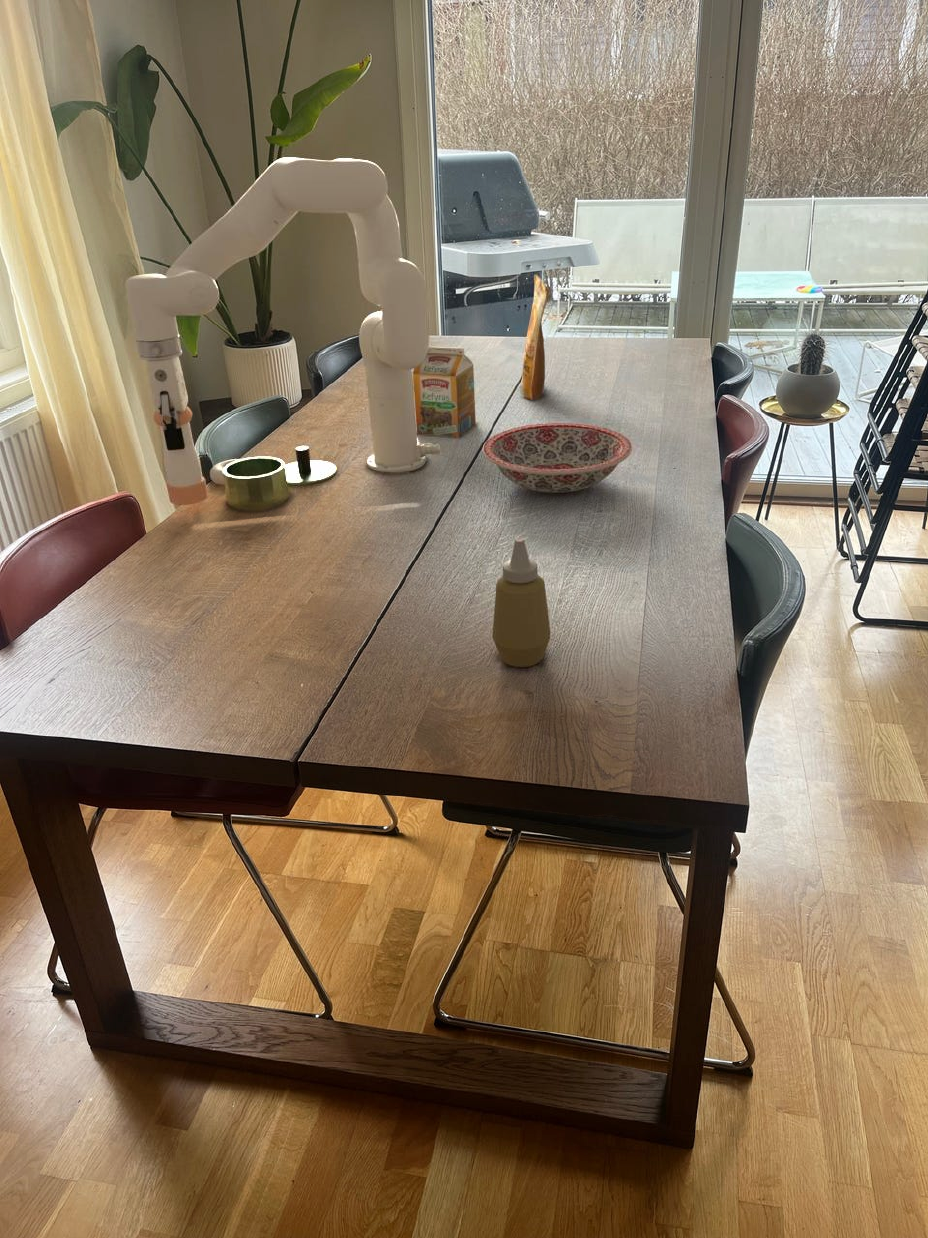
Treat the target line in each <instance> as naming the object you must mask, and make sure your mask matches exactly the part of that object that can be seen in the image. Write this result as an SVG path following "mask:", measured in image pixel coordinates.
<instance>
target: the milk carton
mask: <svg viewBox="0 0 928 1238" xmlns="http://www.w3.org/2000/svg"><path fill="white" fill-rule="evenodd" d="M474 369H475V368H474V363H473V361H472V360H471V359H470V358H469V357H468V356H467V355H466V354H465V349H464V348H463V347H450V346H449V347H448V346H430V345H429V348H428V352H427V355H426V357H425V359H424V360H423V362H422V363H421V364H420V365H419V366H417V367H416V368H414V369H413V372H412V377H413V386H414V404H415V418H416V432H417V435H425V436H426V435H427V436H436V437H437V436H438V437H450V438H460V437H461V436H463V435H464V434H465V433H466V432H468V431H469V430H470V429H472V427H474V426H475V425H476V424H477V422H476V397H475V395H476V394H475V372H474Z"/></svg>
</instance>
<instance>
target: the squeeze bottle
mask: <svg viewBox="0 0 928 1238" xmlns="http://www.w3.org/2000/svg"><path fill="white" fill-rule="evenodd" d="M512 548H513V549H512V553H511V557H510V559H508V560H506V561H505V562H503V564H502V575H501V576H500V577H499V578H498V579H497V580H496V586H495V596H494V610H493V612H494V613H493V622H492V636H491V638H492V640H493V642H494V645H495V647H496V649H497V652H498V654H499V657H500V659H501V660H502V662H503V663H504V664H506V665H508V666H511V667H515V668H528V667H532V666H535V665H537V664H539V663H540V662H541V661H542V660H543V658H544V655H545V653H546V651H547V648H548V645H549V642H550V640H551V626H550V617H549V609H548V599H547V592H546V591H547V590H546V584H545V583H546V582H545V579H544V578H543V577H542V576H541V575H539V573H538V571H539V570H538V563H537V562H536V561H535V560H533V559H531V558H530V557H529V554H528V549H527V546H526V542H525V539H524V538H523V537H517V538H515V539H514V544H513V547H512Z"/></svg>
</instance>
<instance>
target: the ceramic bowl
mask: <svg viewBox="0 0 928 1238" xmlns="http://www.w3.org/2000/svg"><path fill="white" fill-rule="evenodd" d="M632 451H633V444H632V442H631V440H630V439H629V438H628V437H626V436H625V435H623V434H621V433H620V432H618V431H615V430H612V429H610V428H605V427H602V426H596V425H591V424H585V423H572V422H571V423H570V422H553V423H552V422H550V423H538V424H537V423H536V424H530V425H529V424H528V425H522V426H518V427H513V428H510V429H507V430H504V431H501V432H499V433H497V434H495V435H492V436H491V437H490V438H488V439H487V440H486V441H485V442H484V444H483V446H482V454H483V457H484V458H485V459H486V460H487V461H488V462H490V463H491V464H494V465H495V466H496V468H497V469H498V470H499V472H500V473H501V474H502V475H503V476H504V477H506V479H508V480H509V481H510V482H512V483H514V484H515V485H518V486H520V487H521V488H525V489H527V490H531V491H534V492H535V491H536V492H541V493H557V494H560V493H571V492H578V491H581V490H584V489H588V488H591V487H593V486H595V485H597V484H599V483H600V482H602V481H603V480H605V479H606V478H607V477H609V476H610V475H611V474H612V473H613V471H615V469H616V468H617V466H618V465H619V464H620V463H622V462H624V461H625V460H627V459H628V458H629V457H630V456H631V454H632Z"/></svg>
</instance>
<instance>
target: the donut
mask: <svg viewBox="0 0 928 1238" xmlns="http://www.w3.org/2000/svg"><path fill="white" fill-rule="evenodd" d="M242 459H243V458H234V459H233V458H231V459H227V460H222V461H221V462H218V463H216V464H214V465H213V466H212V468H211V469H210V470H209V478H210V480H211V481H212V482H213V483H214V484H216V485H218V486H225V485H224V479H223V473H222V472H223V468H224V467H225V466H227V465H228V464H230V463H232V462H235V461H238V460H242Z"/></svg>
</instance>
